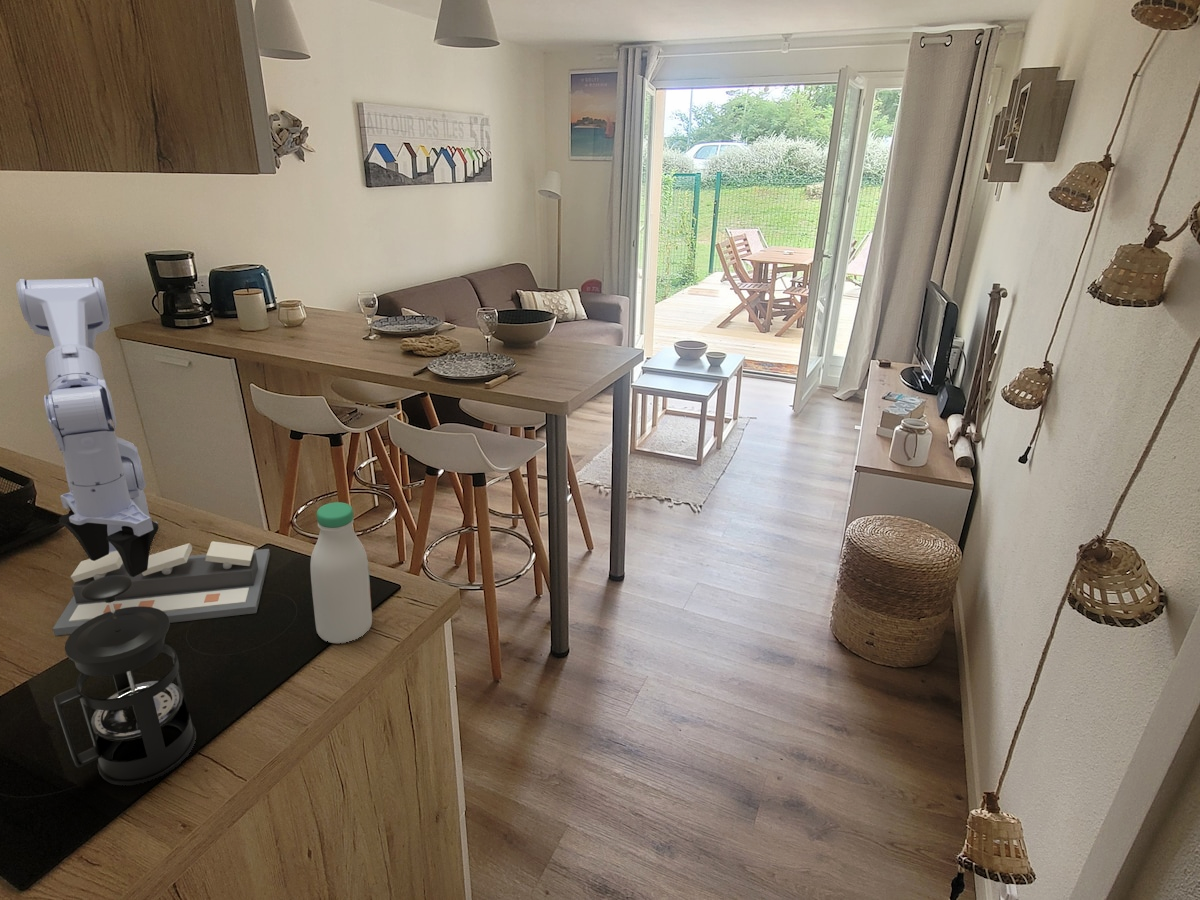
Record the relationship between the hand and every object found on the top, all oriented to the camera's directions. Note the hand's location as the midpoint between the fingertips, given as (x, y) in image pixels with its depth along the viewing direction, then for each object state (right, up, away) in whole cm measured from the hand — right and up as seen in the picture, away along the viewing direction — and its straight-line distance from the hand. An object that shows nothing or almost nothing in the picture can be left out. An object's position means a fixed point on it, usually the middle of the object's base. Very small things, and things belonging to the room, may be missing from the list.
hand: (119, 564), depth 91 cm
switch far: (+9, -2, +12) cm, 14 cm away
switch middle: (+1, -2, +9) cm, 10 cm away
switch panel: (+1, -6, +11) cm, 12 cm away
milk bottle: (+28, -11, +7) cm, 31 cm away
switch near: (-7, -2, +7) cm, 10 cm away
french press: (+14, -19, -15) cm, 28 cm away
